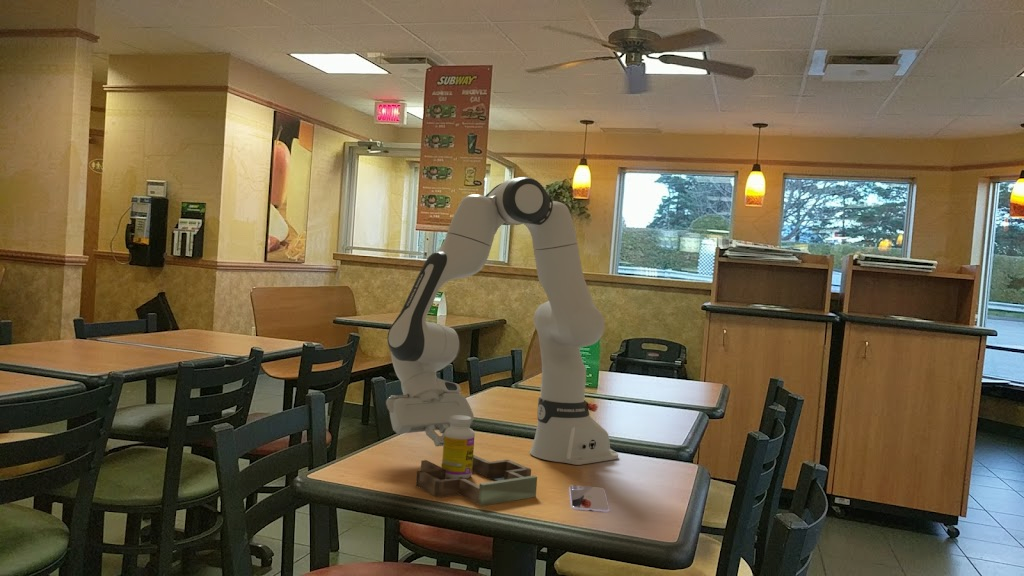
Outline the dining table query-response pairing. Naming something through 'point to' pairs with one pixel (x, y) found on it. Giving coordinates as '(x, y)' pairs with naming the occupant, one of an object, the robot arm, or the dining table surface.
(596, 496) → the mobile phone
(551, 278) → the robot arm
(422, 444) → the dining table surface
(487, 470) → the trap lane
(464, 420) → the supplement bottle
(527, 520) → the dining table surface
